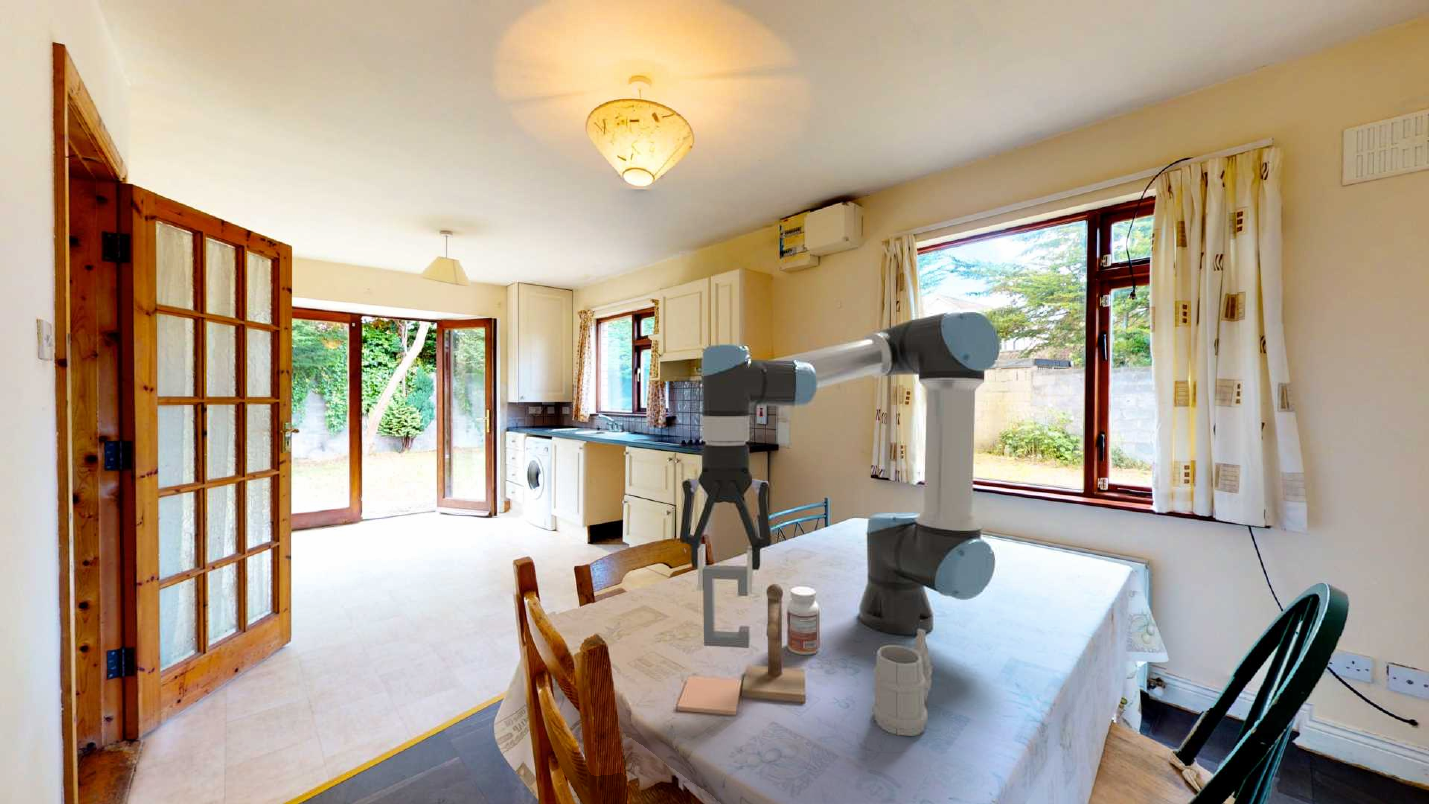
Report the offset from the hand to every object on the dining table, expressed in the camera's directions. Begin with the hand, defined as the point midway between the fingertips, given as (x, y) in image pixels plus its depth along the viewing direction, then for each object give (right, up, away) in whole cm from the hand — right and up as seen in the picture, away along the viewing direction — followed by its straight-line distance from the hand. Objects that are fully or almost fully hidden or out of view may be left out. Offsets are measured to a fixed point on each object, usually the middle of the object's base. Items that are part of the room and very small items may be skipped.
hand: (725, 588), depth 82 cm
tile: (-2, -18, +1) cm, 18 cm away
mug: (+27, -18, -4) cm, 33 cm away
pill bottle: (+15, -18, +18) cm, 30 cm away
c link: (0, -9, 0) cm, 9 cm away
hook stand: (+8, -18, 0) cm, 19 cm away
